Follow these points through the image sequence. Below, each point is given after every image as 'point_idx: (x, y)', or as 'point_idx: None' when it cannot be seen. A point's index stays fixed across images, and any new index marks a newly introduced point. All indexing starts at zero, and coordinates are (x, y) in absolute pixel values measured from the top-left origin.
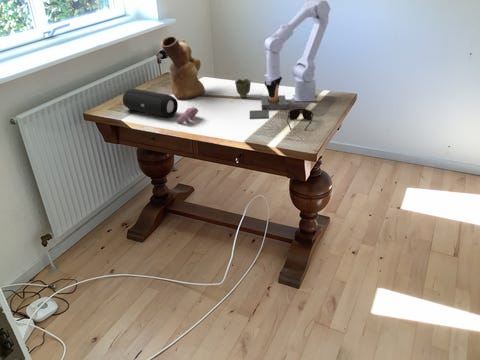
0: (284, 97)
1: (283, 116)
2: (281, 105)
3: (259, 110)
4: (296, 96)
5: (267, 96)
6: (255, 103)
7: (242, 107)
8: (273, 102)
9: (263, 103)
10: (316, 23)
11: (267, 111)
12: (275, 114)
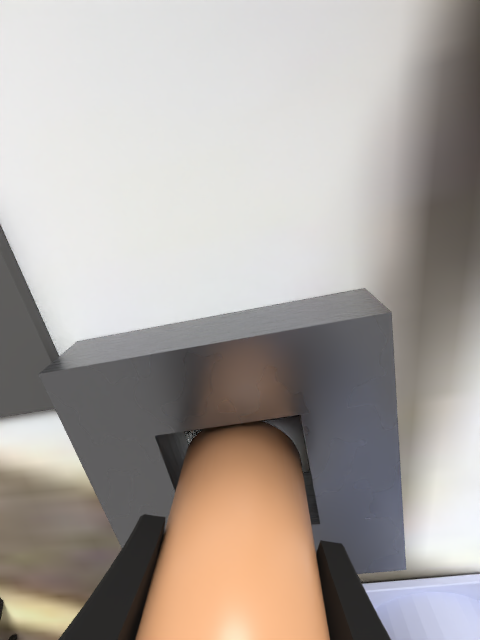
0: None
1: (9, 527)
2: None
3: (27, 326)
4: (395, 633)
5: (373, 401)
6: (283, 221)
7: (101, 38)
8: (164, 488)
9: (103, 385)
10: None
11: (32, 411)
12: (25, 471)
